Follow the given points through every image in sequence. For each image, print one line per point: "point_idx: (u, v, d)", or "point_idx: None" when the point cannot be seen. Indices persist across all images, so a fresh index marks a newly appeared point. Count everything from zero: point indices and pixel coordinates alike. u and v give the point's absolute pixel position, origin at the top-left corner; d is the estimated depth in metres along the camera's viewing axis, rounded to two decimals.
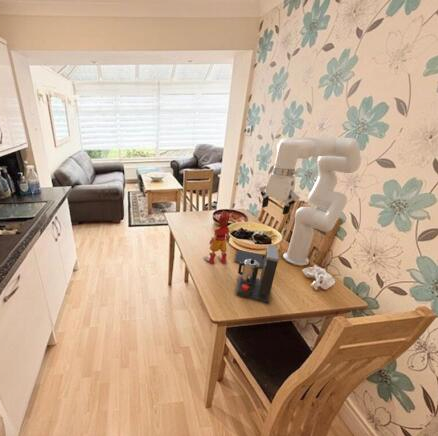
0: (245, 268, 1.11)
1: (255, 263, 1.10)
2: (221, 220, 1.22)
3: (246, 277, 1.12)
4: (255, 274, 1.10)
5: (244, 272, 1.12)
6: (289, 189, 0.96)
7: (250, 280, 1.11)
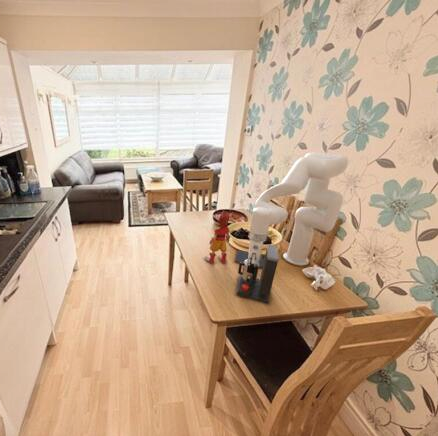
0: (245, 268, 1.11)
1: None
2: (221, 220, 1.22)
3: (246, 277, 1.12)
4: (255, 274, 1.10)
5: (244, 272, 1.12)
6: (251, 251, 1.04)
7: (250, 280, 1.11)
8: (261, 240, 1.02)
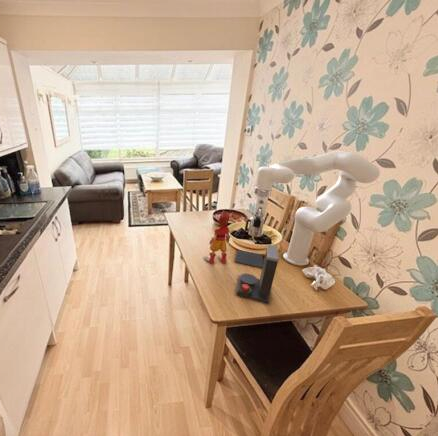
0: (251, 223, 1.25)
1: None
2: (221, 220, 1.22)
3: (252, 232, 1.25)
4: (260, 228, 1.24)
5: (251, 227, 1.26)
6: (257, 206, 1.18)
7: (256, 234, 1.25)
8: (266, 195, 1.16)
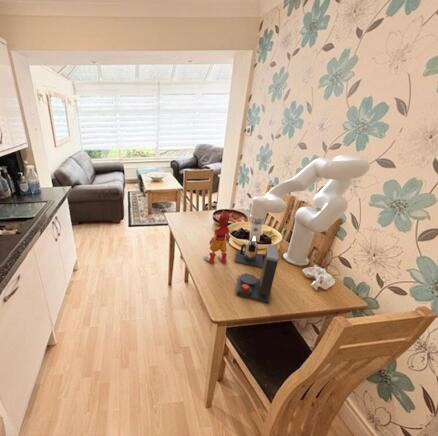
0: (246, 248, 1.33)
1: None
2: (221, 220, 1.22)
3: (247, 256, 1.33)
4: (255, 253, 1.32)
5: (245, 252, 1.34)
6: (252, 233, 1.25)
7: (250, 259, 1.33)
8: (260, 223, 1.23)
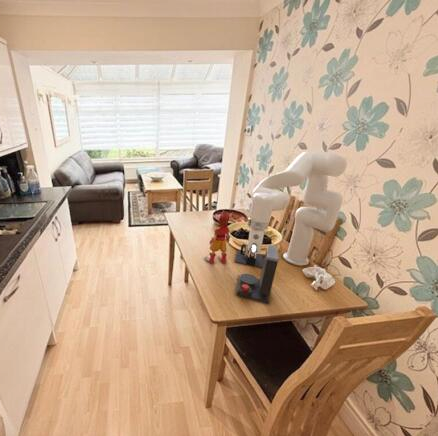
0: (246, 248, 1.33)
1: None
2: (221, 220, 1.22)
3: (247, 256, 1.33)
4: None
5: (245, 252, 1.34)
6: (251, 241, 0.95)
7: None
8: (262, 229, 0.93)
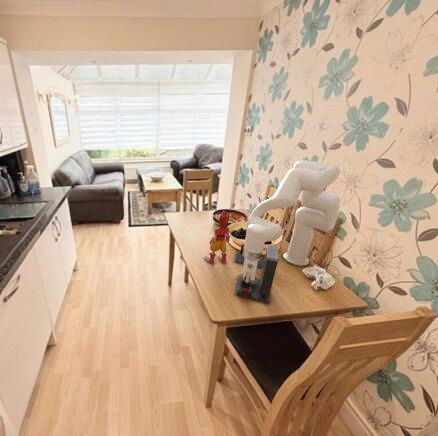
0: None
1: None
2: (221, 220, 1.22)
3: None
4: None
5: None
6: (245, 270, 1.00)
7: None
8: (256, 258, 0.98)
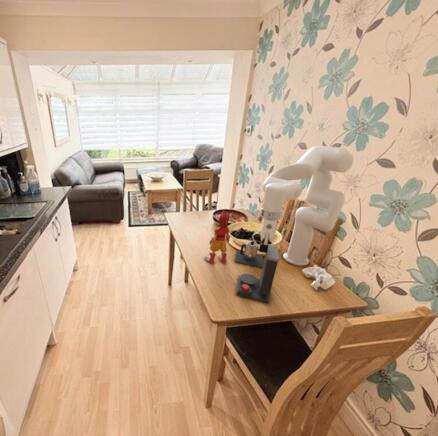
0: (246, 248, 1.33)
1: (255, 244, 1.31)
2: (221, 220, 1.22)
3: (247, 256, 1.33)
4: (255, 253, 1.32)
5: (245, 252, 1.34)
6: (264, 231, 0.97)
7: (250, 259, 1.33)
8: (275, 218, 0.95)
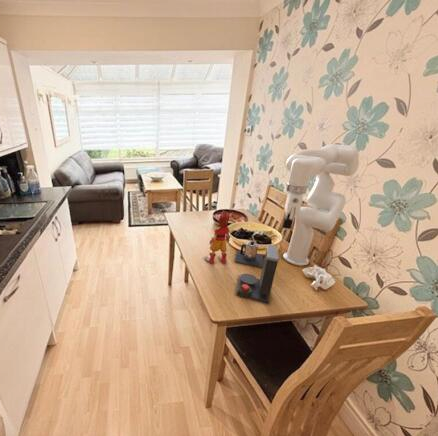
0: (246, 248, 1.33)
1: (255, 244, 1.31)
2: (221, 220, 1.22)
3: (247, 256, 1.33)
4: (255, 253, 1.32)
5: (245, 252, 1.34)
6: (290, 205, 0.99)
7: (250, 259, 1.33)
8: (301, 192, 0.97)
